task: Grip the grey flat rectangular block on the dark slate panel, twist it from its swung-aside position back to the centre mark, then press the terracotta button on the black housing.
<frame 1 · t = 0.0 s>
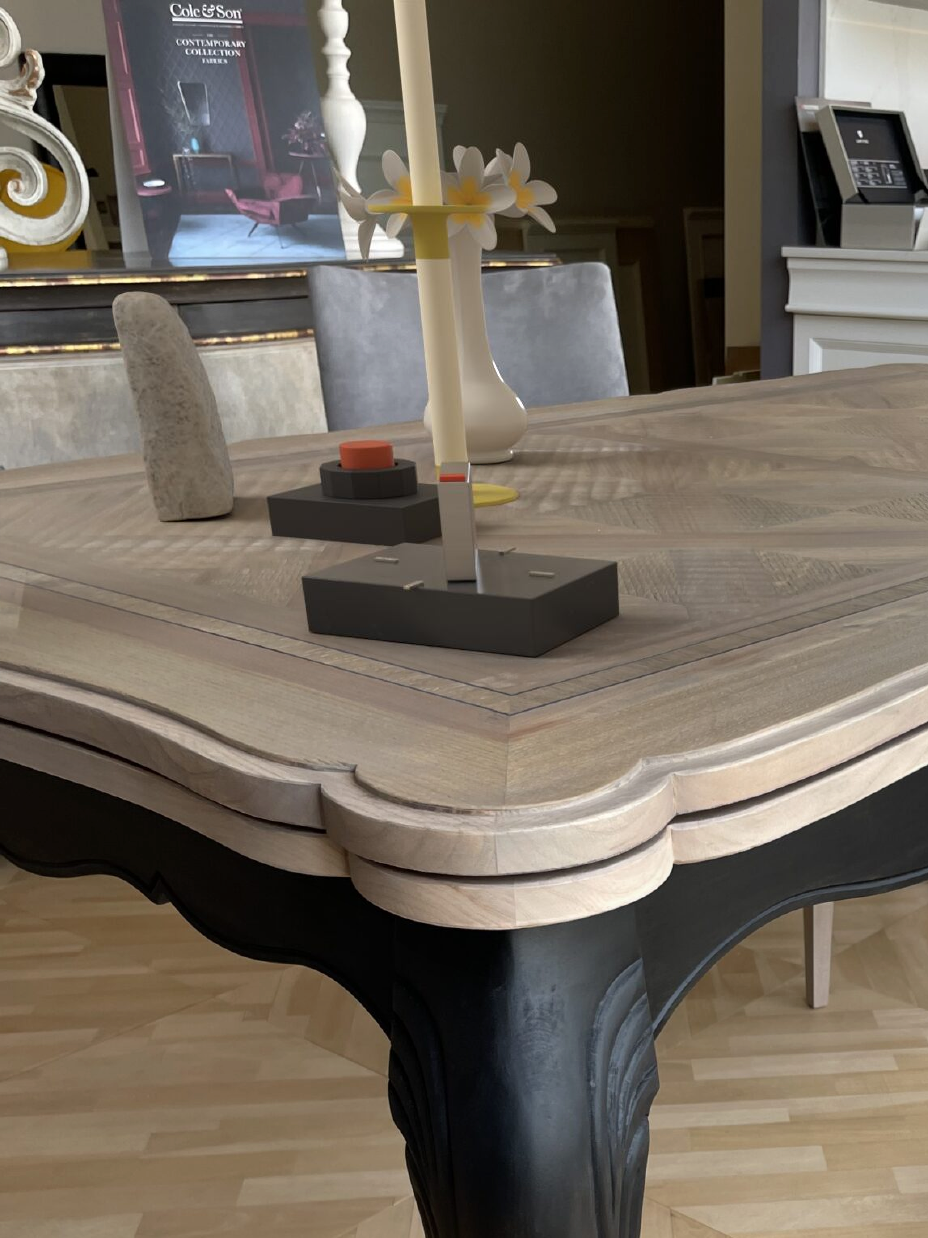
candle: (454, 500, 120), on the table
tap panel: (467, 623, 85), on the table
grey flat rectangular block: (458, 517, 82), point 6 cm above the table, hinge at -60.0°
flower vase: (472, 462, 138), on the table
button box: (375, 531, 108), on the table
button: (367, 457, 106), point 5 cm above the table, slide at 0.1 cm
decorative stone: (199, 512, 115), on the table
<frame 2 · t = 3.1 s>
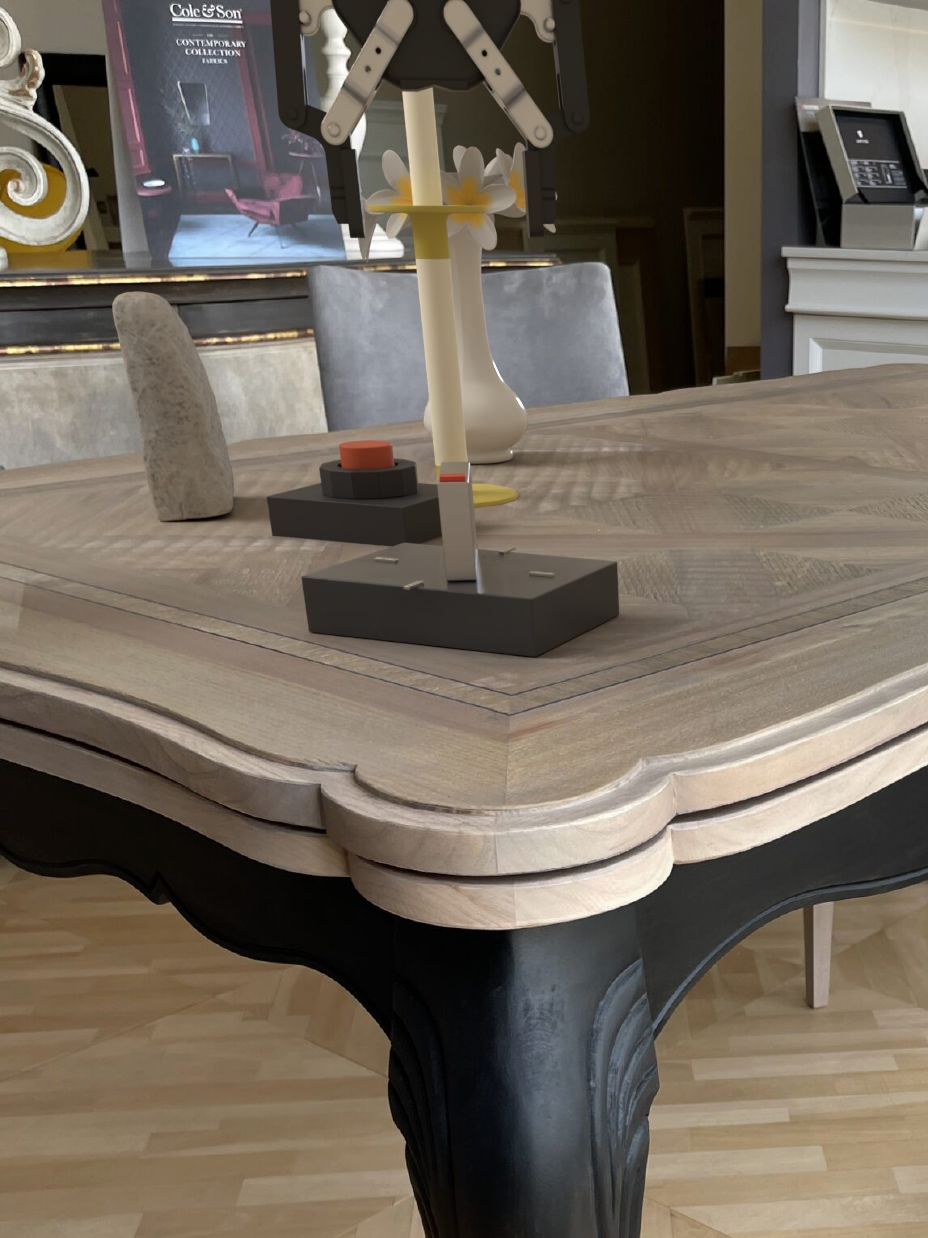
hand: (447, 237, 74), 19 cm above the table, tool pointing down, fingers open, 8 cm apart
nothing on the table moved.
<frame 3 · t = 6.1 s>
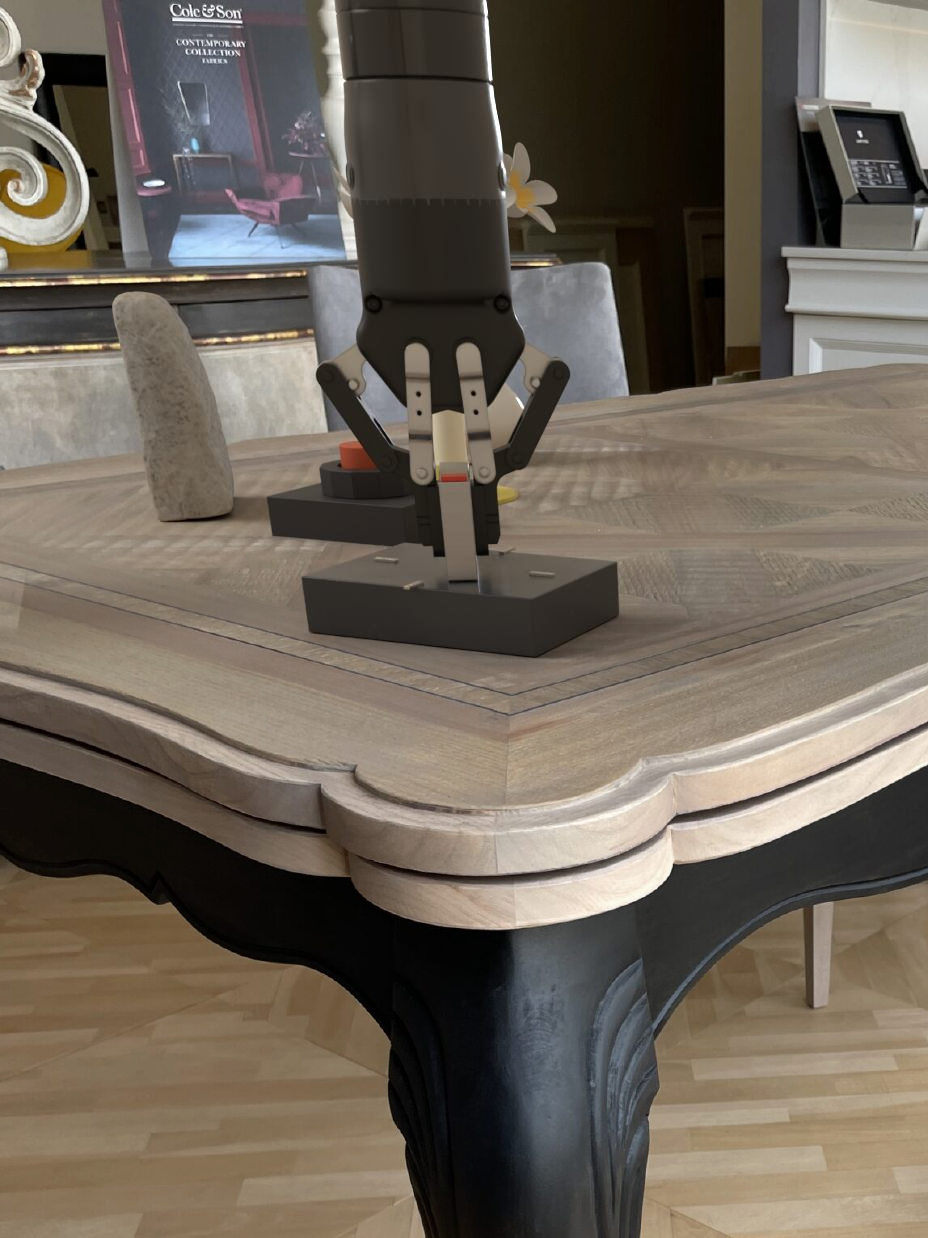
hand: (460, 552, 83), 4 cm above the table, tool pointing down, fingers closed on grey flat rectangular block
grey flat rectangular block: (458, 517, 82), point 6 cm above the table, hinge at -58.7°, touching gripper
everything else where it was.
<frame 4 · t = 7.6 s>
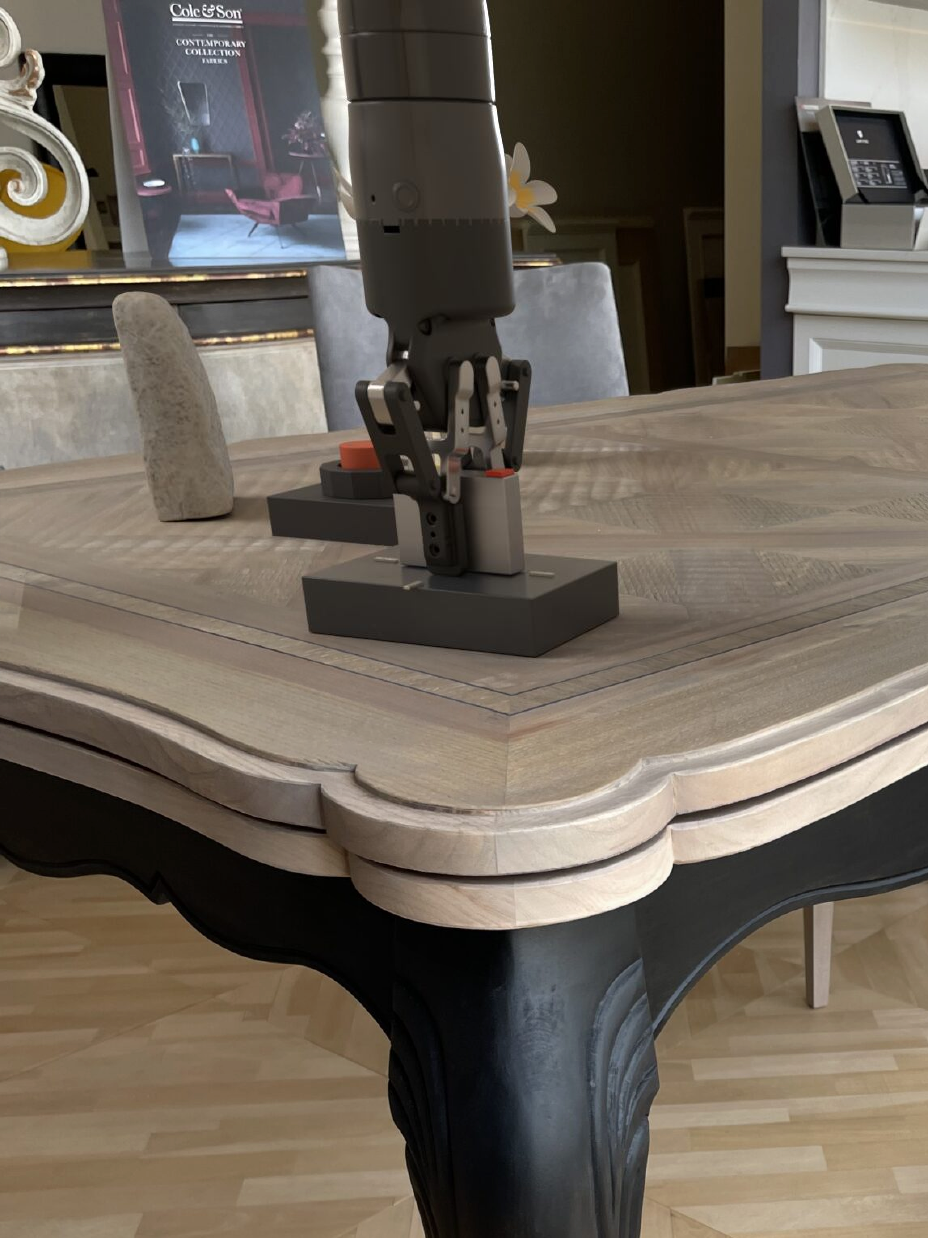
hand: (466, 565, 84), 3 cm above the table, tool pointing down, fingers open, 3 cm apart
grey flat rectangular block: (458, 517, 82), point 6 cm above the table, hinge at -0.6°
everything else where it was.
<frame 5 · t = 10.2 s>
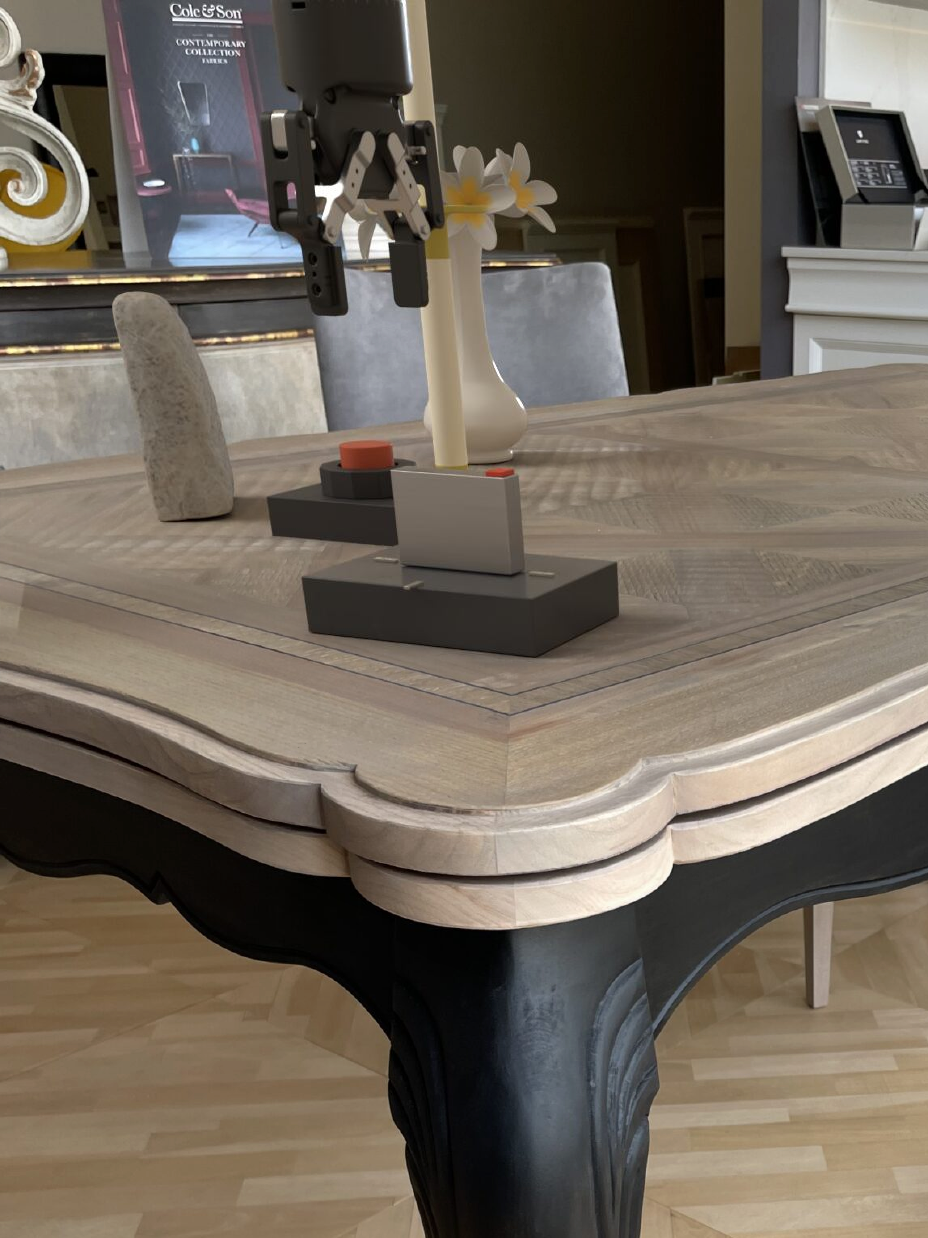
hand: (372, 311, 94), 15 cm above the table, tool pointing down, fingers open, 8 cm apart
nothing on the table moved.
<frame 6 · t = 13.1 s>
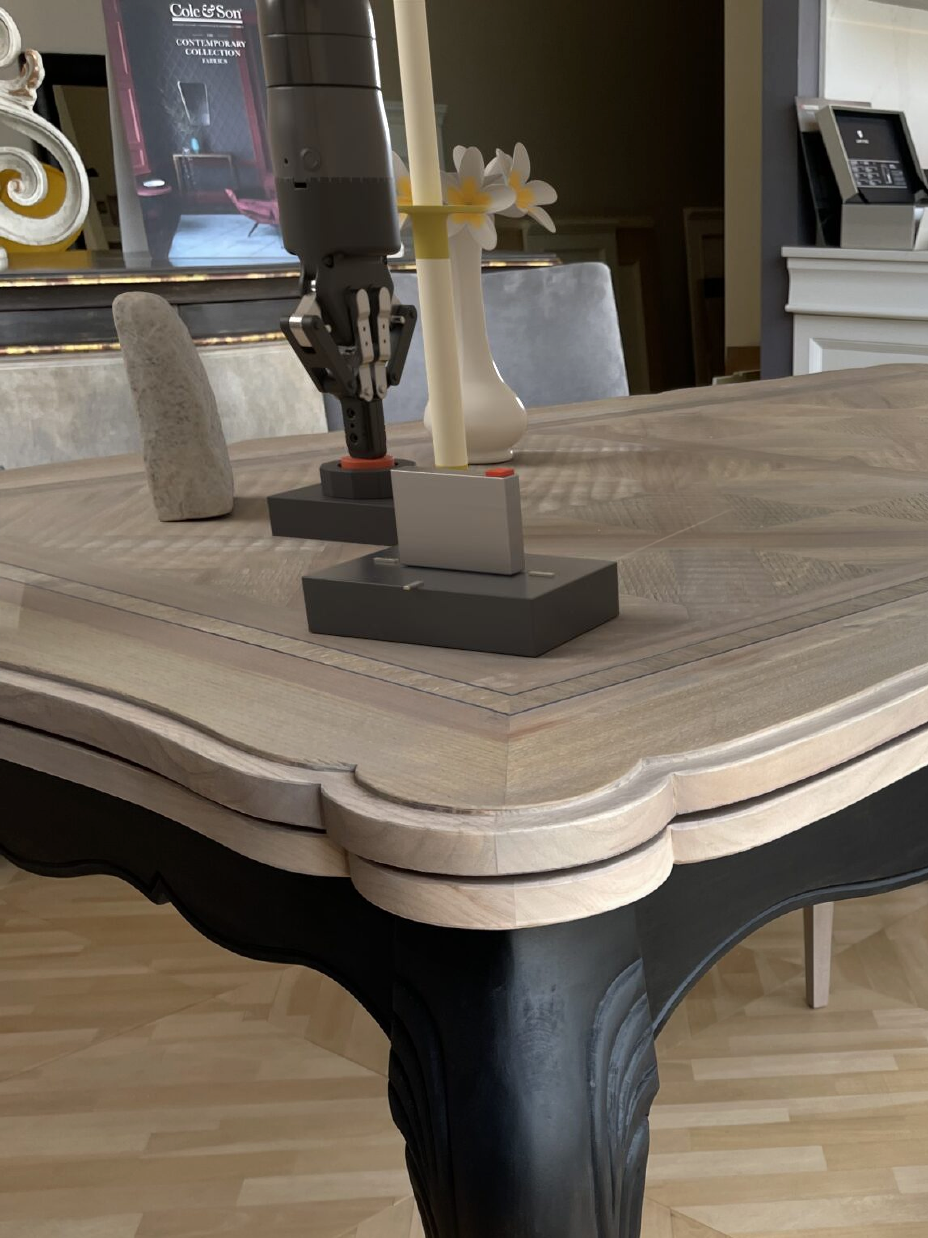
hand: (368, 457, 106), 5 cm above the table, tool pointing down, fingers closed
button: (368, 471, 106), point 4 cm above the table, slide at -0.8 cm, touching gripper
everything else where it was.
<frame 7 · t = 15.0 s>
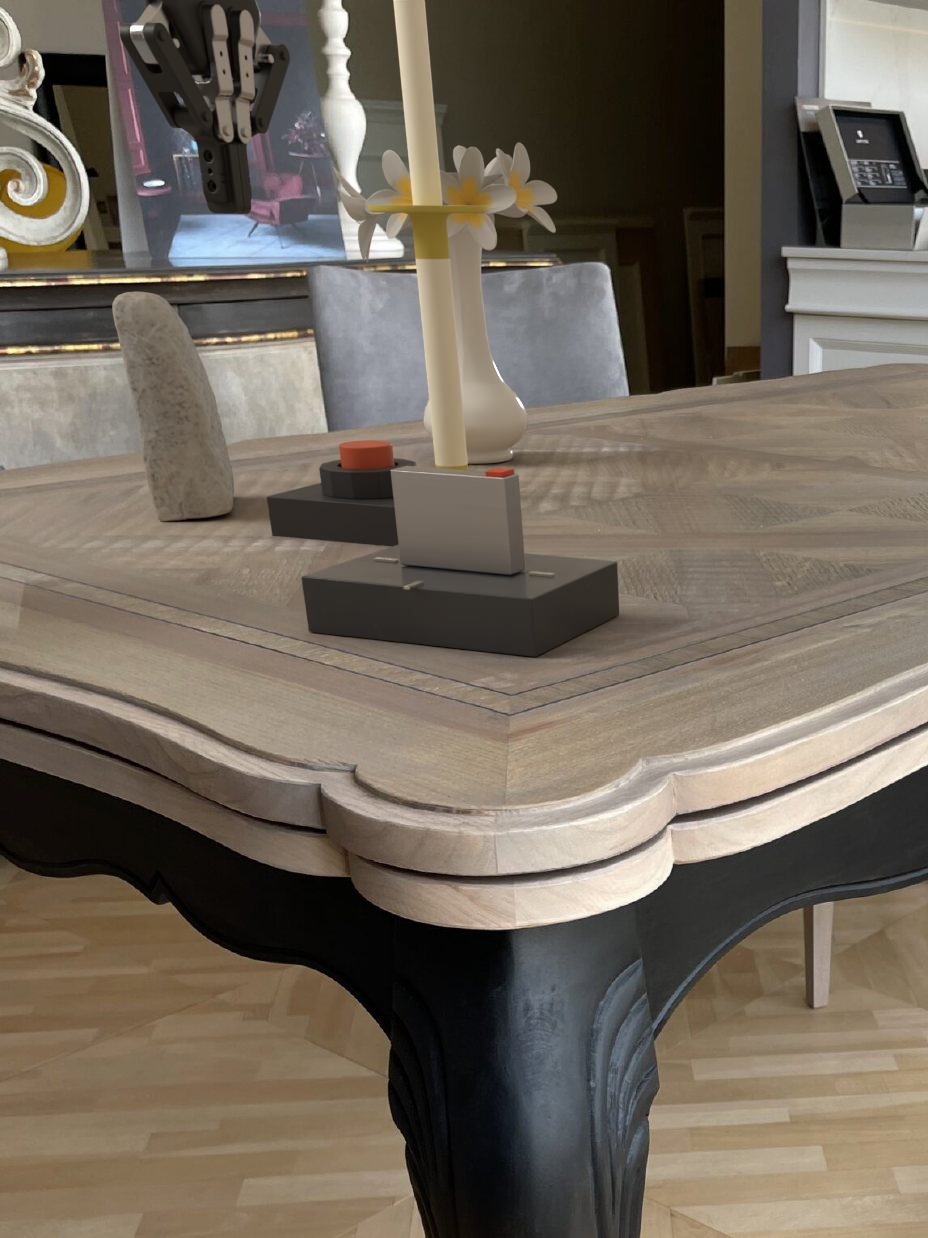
hand: (230, 213, 95), 20 cm above the table, tool pointing down, fingers closed
button: (367, 457, 106), point 5 cm above the table, slide at 0.1 cm
everything else where it was.
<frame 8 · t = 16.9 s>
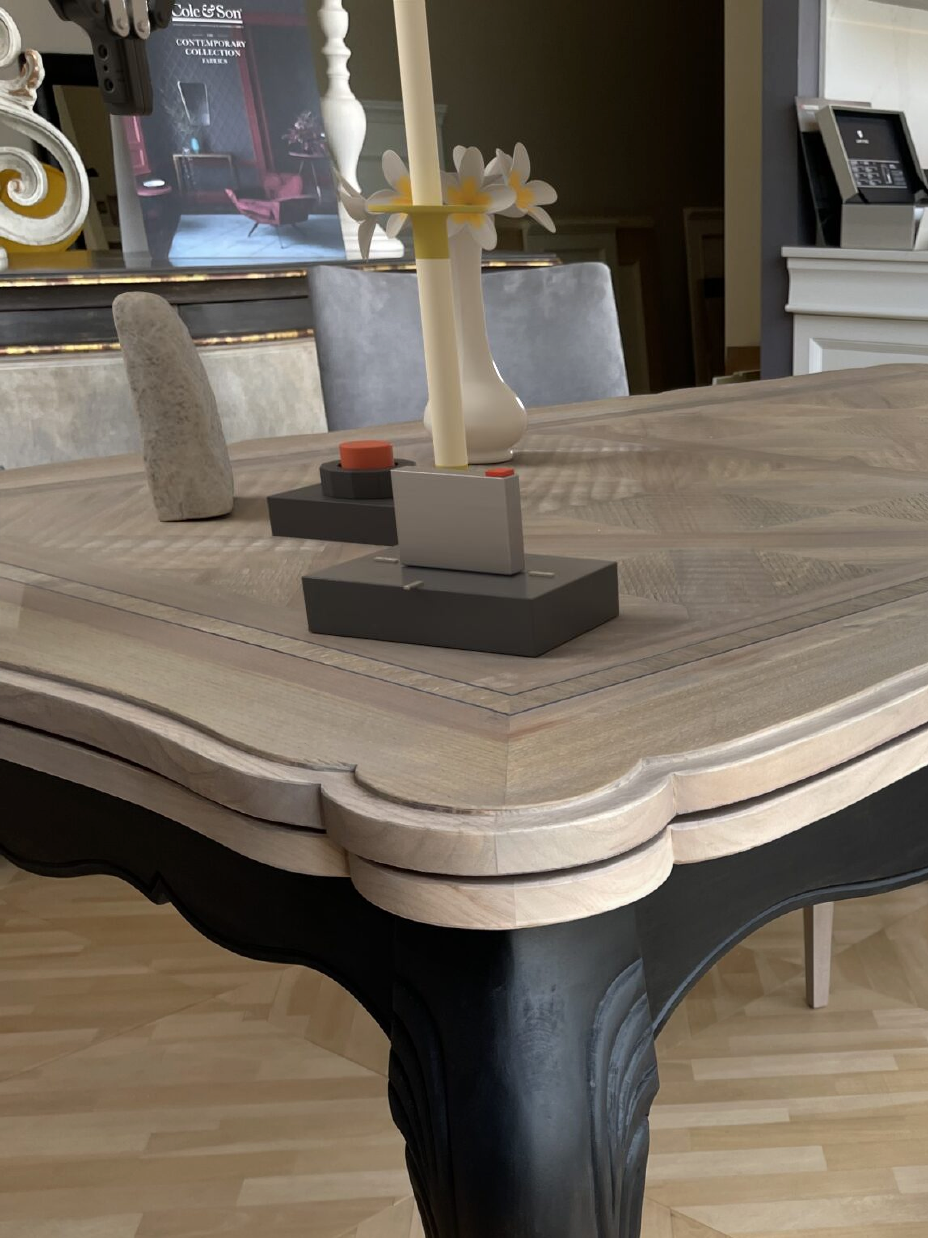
hand: (130, 115, 89), 25 cm above the table, tool pointing down, fingers closed
nothing on the table moved.
at the end: grey flat rectangular block at -1° (first picture: -60°); button pushed in 1.1 cm at the most during the clip, back to where it started at the end; button slide at 0.1 cm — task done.
